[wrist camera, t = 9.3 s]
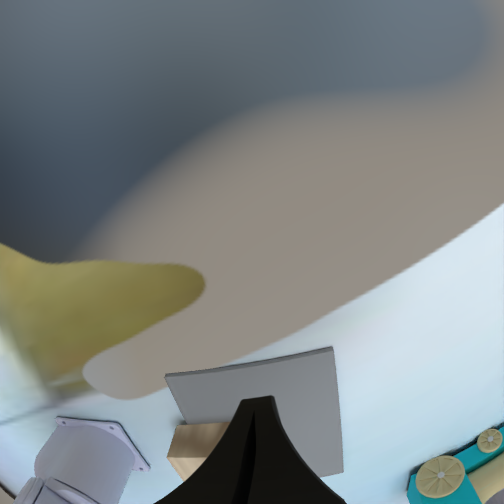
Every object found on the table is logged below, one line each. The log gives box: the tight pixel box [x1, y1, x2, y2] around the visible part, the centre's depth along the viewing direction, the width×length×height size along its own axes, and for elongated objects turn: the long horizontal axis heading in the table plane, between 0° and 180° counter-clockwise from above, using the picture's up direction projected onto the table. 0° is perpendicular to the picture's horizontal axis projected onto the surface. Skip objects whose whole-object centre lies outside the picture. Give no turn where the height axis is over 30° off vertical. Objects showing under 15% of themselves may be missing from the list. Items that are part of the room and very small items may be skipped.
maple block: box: [167, 422, 230, 481], centre depth 21 cm, size 4×4×8 cm
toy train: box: [407, 426, 504, 504], centre depth 18 cm, size 8×17×15 cm, turn 106°
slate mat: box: [164, 347, 344, 478], centre depth 23 cm, size 13×17×1 cm
